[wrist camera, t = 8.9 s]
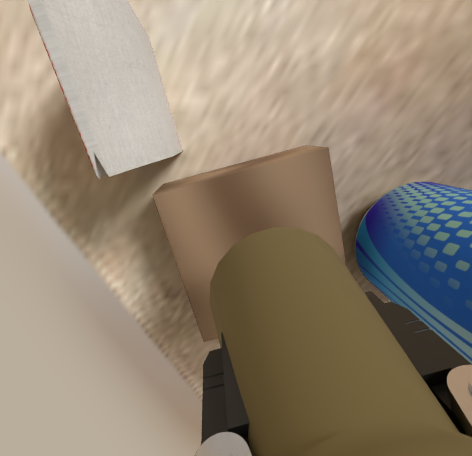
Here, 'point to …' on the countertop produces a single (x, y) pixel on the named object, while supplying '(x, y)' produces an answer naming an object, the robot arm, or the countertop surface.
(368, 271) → the beer can
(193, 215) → the walnut base
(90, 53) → the white tall box
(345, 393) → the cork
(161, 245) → the countertop surface
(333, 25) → the countertop surface
